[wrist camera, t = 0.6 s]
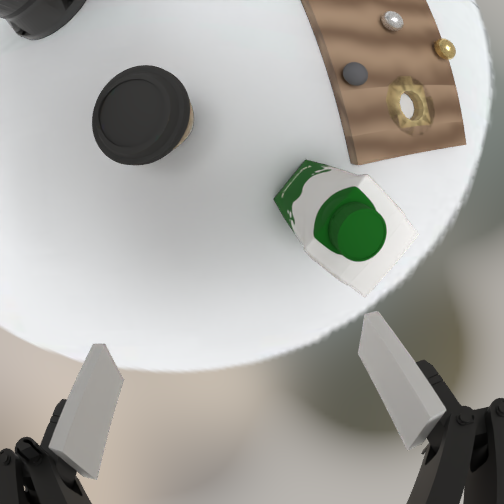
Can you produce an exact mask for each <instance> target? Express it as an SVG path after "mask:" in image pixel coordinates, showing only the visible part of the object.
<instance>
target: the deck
mask: <svg viewBox="0 0 504 504" xmlns="http://www.w3.org/2000/svg"><path fill="white" fill-rule="evenodd" d="M301 2H302V4H303V7H304V9H305V12H306V14H307V16H308V19H309V22H310V24H311V27H312V29H313V32H314V35H315V37H316V40H317V43H318V46H319V48H320V51H321V54H322V57H323V60H324V63H325V66H326V69H327V72H328V76H329V79H330V82H331V86H332V89H333V92H334V96H335V99H336V103H337V107H338V110H339V114H340V118H341V122H342V126H343V130H344V134H345V139H346V143H347V148H348V152H349V157H350V162H351V164H355V165H362V164H367V163H371V162H376V161H380V160H385V159H390V158H394V157H399V156H404V155H409V154H414V153H420V152H425V151H431V150H436V149H442V148H448V147H454V146H460V145H466V139H465V132H464V125H463V119H462V114H461V108H460V103H459V98H458V94H457V90H456V85H455V81H454V77H453V74H452V70H451V66H450V63H449V60H446V59H443V58H441V57H440V56H439V55H438V54H437V53H436V51H435V49H434V44H435V42H436V40H438V39H441V36H440V33H439V30H438V28H437V25H436V23H435V20H434V18H433V15H432V13H431V11H430V8H429V6H428V4H427V2H426V0H301ZM388 11H393V12H396V13H398V14H399V15H400V16H401V17H402V19H403V22H404V25H403V27H402V29H400V30H398V31H392V30H389V29H387V28H386V27H385V26H384V25H383V23H382V20H381V18H382V15H383V14H384V13H385V12H388ZM351 62H357V63H360V64H362V65H363V66H364V67H365V68H366V69H367V72H368V79H367V81H366V82H365V83H364V84H362V85H359V86H355V85H351V84H349V83H348V82H347V81H346V80H345V79H344V76H343V69H344V67H345V66H346V65H347V64H348V63H351ZM403 93H405V94H407V95H408V96H409V97H410V98H411V100H412V101H413V104H414V114H413V117H412V118H411V119H408V118H406V117H405V115H404V114H403V112H402V111H401V107H400V103H399V102H400V98H401V95H402V94H403Z"/></svg>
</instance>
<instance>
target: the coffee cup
mask: <svg viewBox="0 0 504 504" xmlns="http://www.w3.org/2000/svg"><path fill="white" fill-rule="evenodd" d="M193 124H194V115H193V109H192V106H191V103H190V100H189V97H188V94H187V92H186V89H185V88H184V86H183V84H182V83H181V82H180V81H179V80H178V78H176V77H175V76H174V75H173V74H171V73H170V72H168V71H165V70H164V69H161V68H159V67H155V66H149V65H143V66H136V67H132V68H129V69H127V70H125V71H123V72H121V73H119V74H118V75H116V76H115V77H114V78H113V79H112V80H110V81H109V82H108V84H107V85H106V86H105V87H104V88H103V90H102V91H101V93H100V95H99V97H98V99H97V101H96V104H95V107H94V111H93V117H92V127H93V133H94V137H95V140H96V142H97V144H98V146H99V148H100V149H101V150H102V152H103V153H104V154H105V155H106V156H108V157H109V158H110V159H112V160H114V161H116V162H118V163H121V164H126V165H144V164H149V163H152V162H155V161H157V160H159V159H161V158H163V157H164V156H166V155H167V154H168V153H170V152H171V151H172V150H173V149H175V148H176V147H178V146H179V145H180V144H181V143H182V142H183V141H184V140H185V139H186V138H187V137H188V136H189V134H190V133H191V131H192V128H193Z"/></svg>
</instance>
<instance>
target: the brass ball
mask: <svg viewBox="0 0 504 504" xmlns="http://www.w3.org/2000/svg"><path fill="white" fill-rule="evenodd" d="M434 49H435V51H436V53H437V54H438V55H439V56H440V57H441V58H443V59H446V60H450V59H452V58H453V57H454V56H455V54H456V50H455V47H454V45H453V44H452V43H451V42H450V41H449V40H447V39H443V38H441V39H438V40H436V42H435V44H434Z"/></svg>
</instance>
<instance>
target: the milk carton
mask: <svg viewBox="0 0 504 504" xmlns="http://www.w3.org/2000/svg"><path fill="white" fill-rule="evenodd" d="M274 201H275V203H276V204H277V206H278V208H279V210H280V211H281V213H282V215H283V217H284V218H285V220H286V221H287V223H288V224H289V226H290V227H291V229H292V230H293V232H294V233H295V235H296V236H297V238H298V239H299V241H300V242H301V244H302V245H303V248H304V250H305V252H306V253H307V254H308V255H309V256H310V257H311V258H312V259H313V260H314V261H315V262H317V263H318V264H319V265H321V266H322V267H323V268H324V269H325V270H327V271H328V272H329V273H330V274H331V275H333V276H334V277H335V278H337V279H338V280H339V281H341V282H343V283H344V284H346V285H349V286H351V287H352V288H353V289H354V290H356V291H357V292H358V293H359V294H361V295H362V296H363V297H366V296H367V295H368V294H369V293H370V292H371V291H372V290H373V289H374V288H375V287H376V286H377V284H378V283H379V282H380V281H381V280H382V279H383V278H384V277H385V275H386V274H387V273H388V272H389V271H390V270H391V269H392V267H393V266H394V265H395V264H396V263H397V261H398V260H399V259H400V258H401V257H402V255H403V254H404V253H405V252H406V251H407V249H408V248H409V247H410V246H411V244H412V243H413V242H414V241H415V239H416V238H417V237H418V236H419V233H418V232H417V231H416V229H415V228H414V227H413V226H412V224H411V223H410V222H409V221H408V220H407V218H406V215H405V214H404V213H403V211H402V210H401V209H400V208H399V207H398V206H397V204H396V203H395V202H393V200H392V199H391V198H390V197H389V196H388V195H387V194H386V193H385V192H384V191H383V190H382V189H381V187H380V186H379V185H378V184H377V183H376V182H375V181H374V180H373V179H372V178H371V177H370V176H369V175H367V174H363V175H356V174H353V173H350V172H347V171H344V170H341V169H337V168H334V167H331V166H328V165H325V164H321V163H317V162H313V161H309V160H305V161H304V162H303V164H302V165H301V166H300V167H299V169H298V170H297V171H296V172H295V173H294V175H293V176H292V177H291V178H290V180H289V181H288V182H287V183H286V184H285V186H284V187H283V188H282V189H281V191H280V192H279V193H278V194H277V195H276V197H275V198H274Z"/></svg>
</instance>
